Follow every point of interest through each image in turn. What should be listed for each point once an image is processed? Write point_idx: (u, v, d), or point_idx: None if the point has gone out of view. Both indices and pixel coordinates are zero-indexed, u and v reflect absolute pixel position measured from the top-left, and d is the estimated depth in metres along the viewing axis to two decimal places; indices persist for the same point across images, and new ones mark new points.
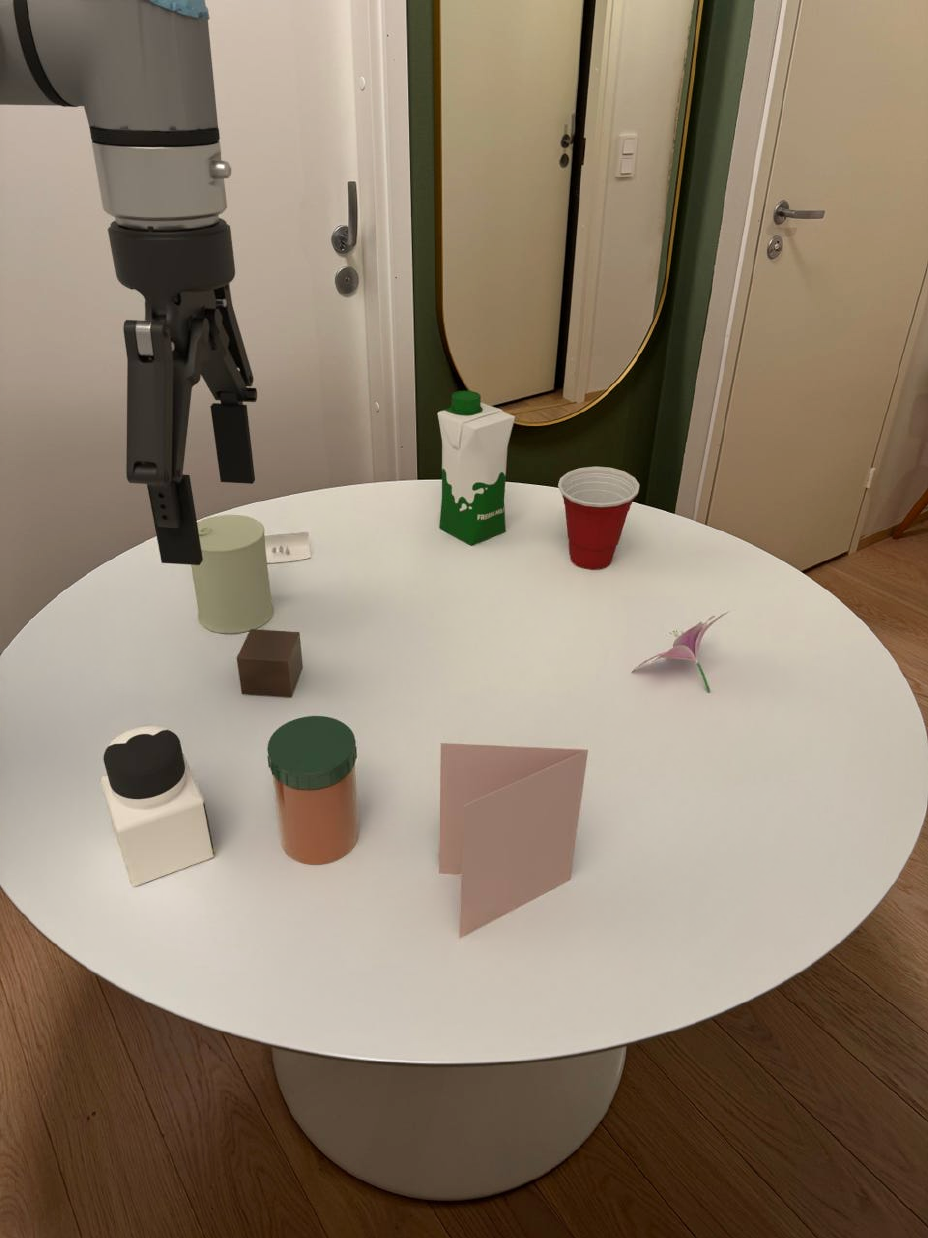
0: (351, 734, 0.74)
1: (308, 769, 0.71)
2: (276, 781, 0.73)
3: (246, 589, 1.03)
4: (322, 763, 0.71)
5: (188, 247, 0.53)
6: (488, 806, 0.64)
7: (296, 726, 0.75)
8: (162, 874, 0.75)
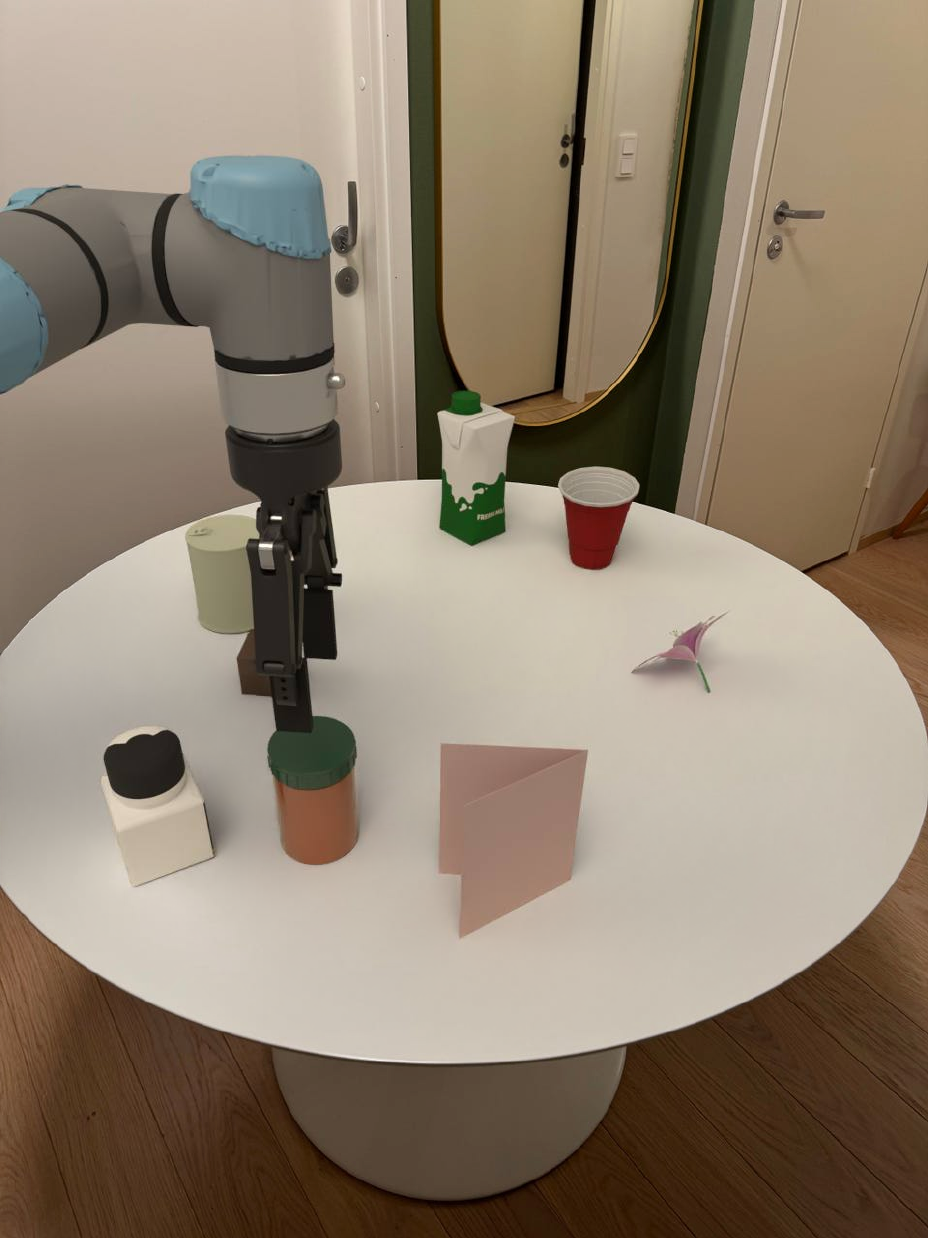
0: (351, 734, 0.74)
1: (308, 769, 0.71)
2: (276, 781, 0.73)
3: (246, 589, 1.03)
4: (322, 763, 0.71)
5: (305, 456, 0.56)
6: (488, 807, 0.64)
7: None
8: (162, 874, 0.75)
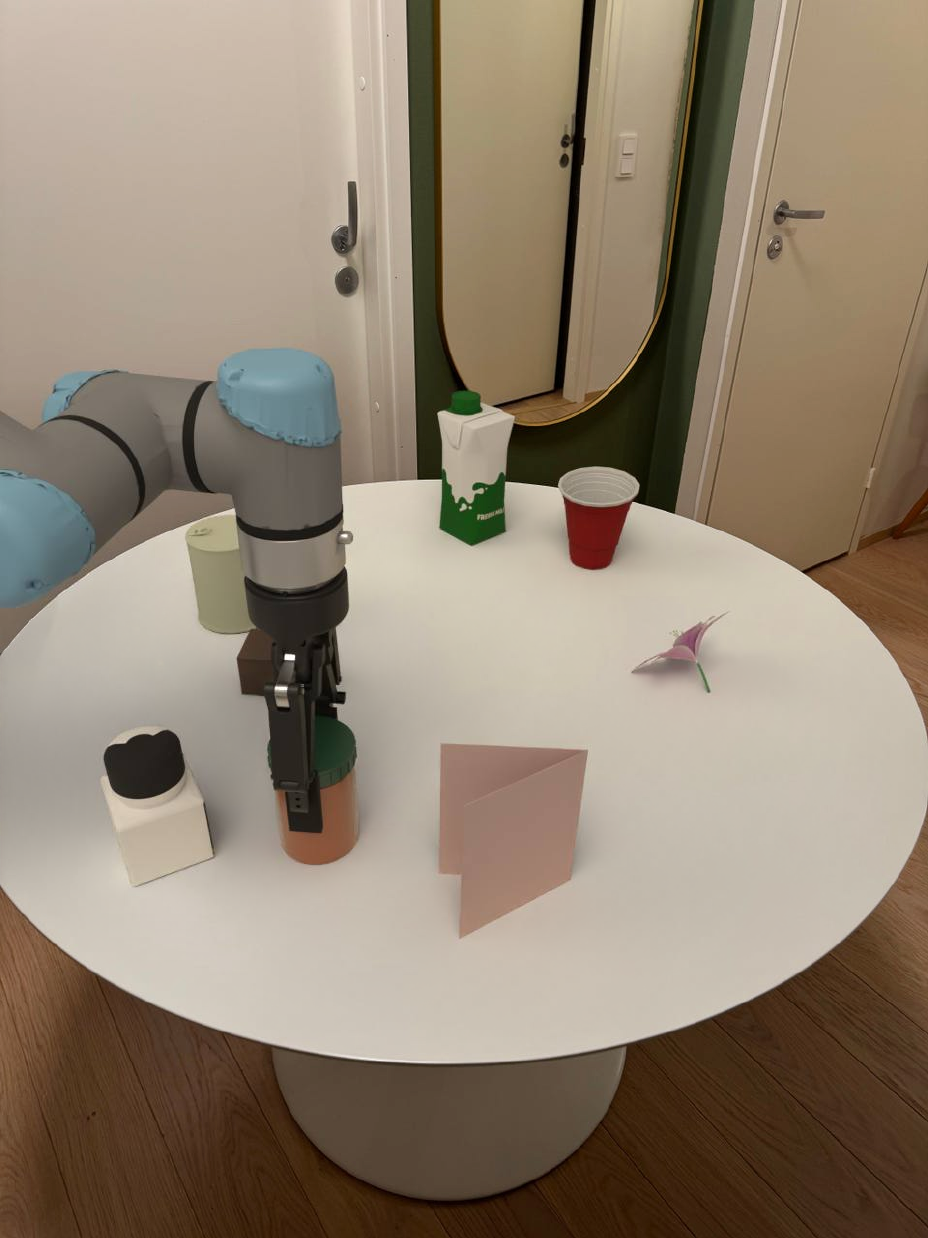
0: (351, 734, 0.74)
1: None
2: None
3: None
4: (322, 763, 0.71)
5: (316, 606, 0.62)
6: (488, 807, 0.64)
7: None
8: (162, 874, 0.75)
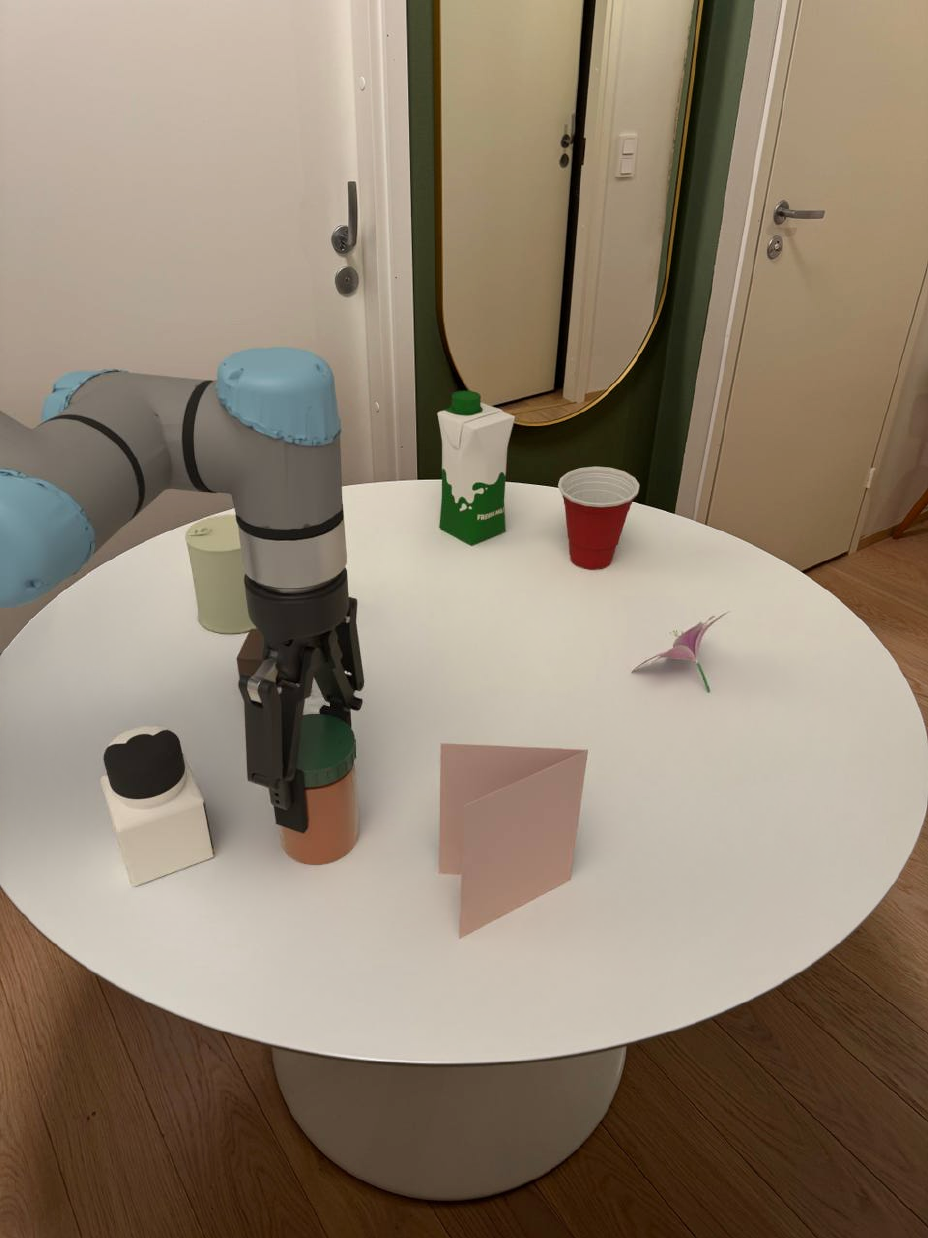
0: None
1: (326, 718, 0.76)
2: None
3: None
4: (311, 720, 0.75)
5: None
6: (488, 807, 0.64)
7: (316, 762, 0.71)
8: (162, 874, 0.75)
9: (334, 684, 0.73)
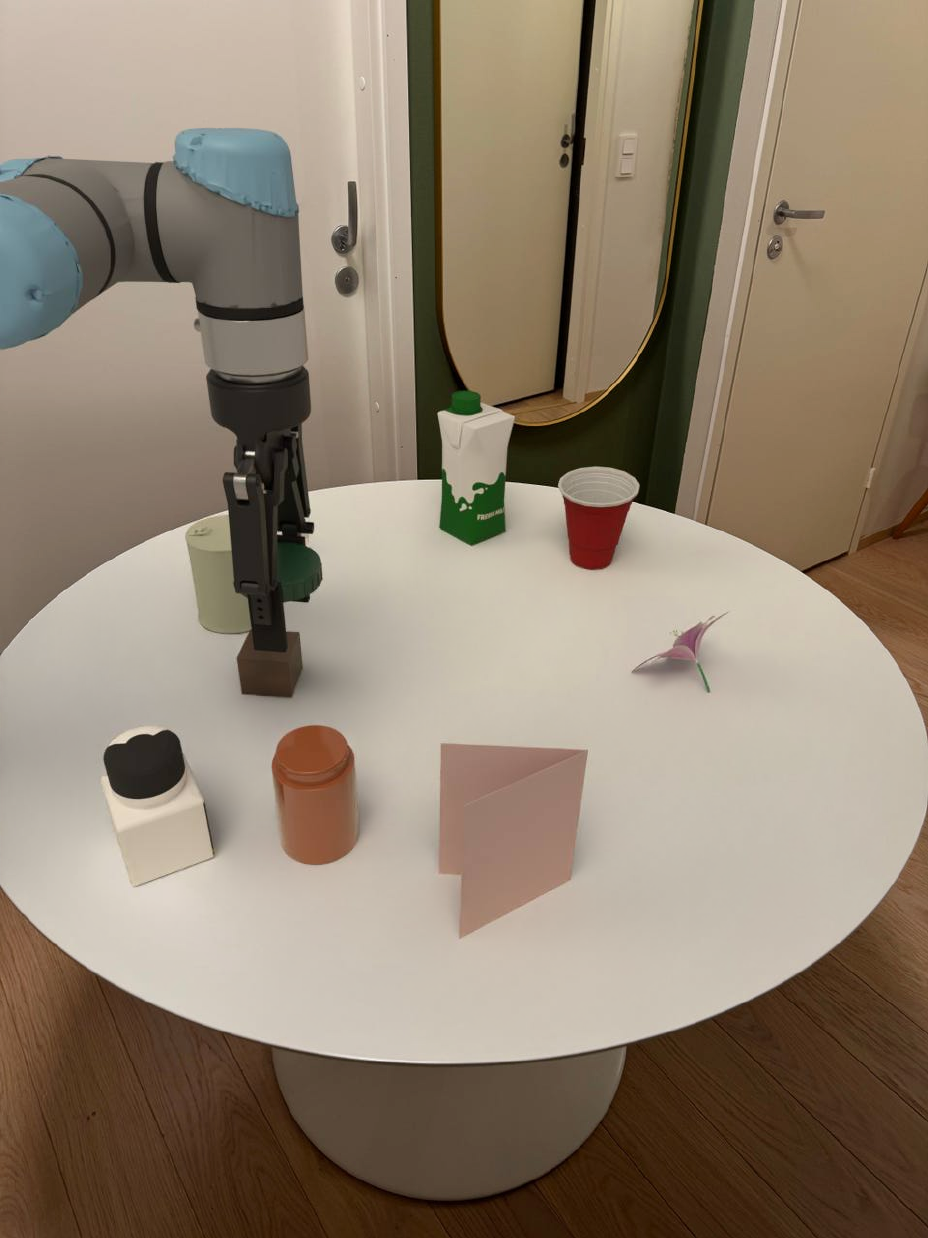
0: None
1: (282, 544, 0.77)
2: (276, 781, 0.73)
3: None
4: None
5: None
6: (488, 807, 0.64)
7: (291, 575, 0.72)
8: (162, 874, 0.75)
9: (291, 503, 0.74)
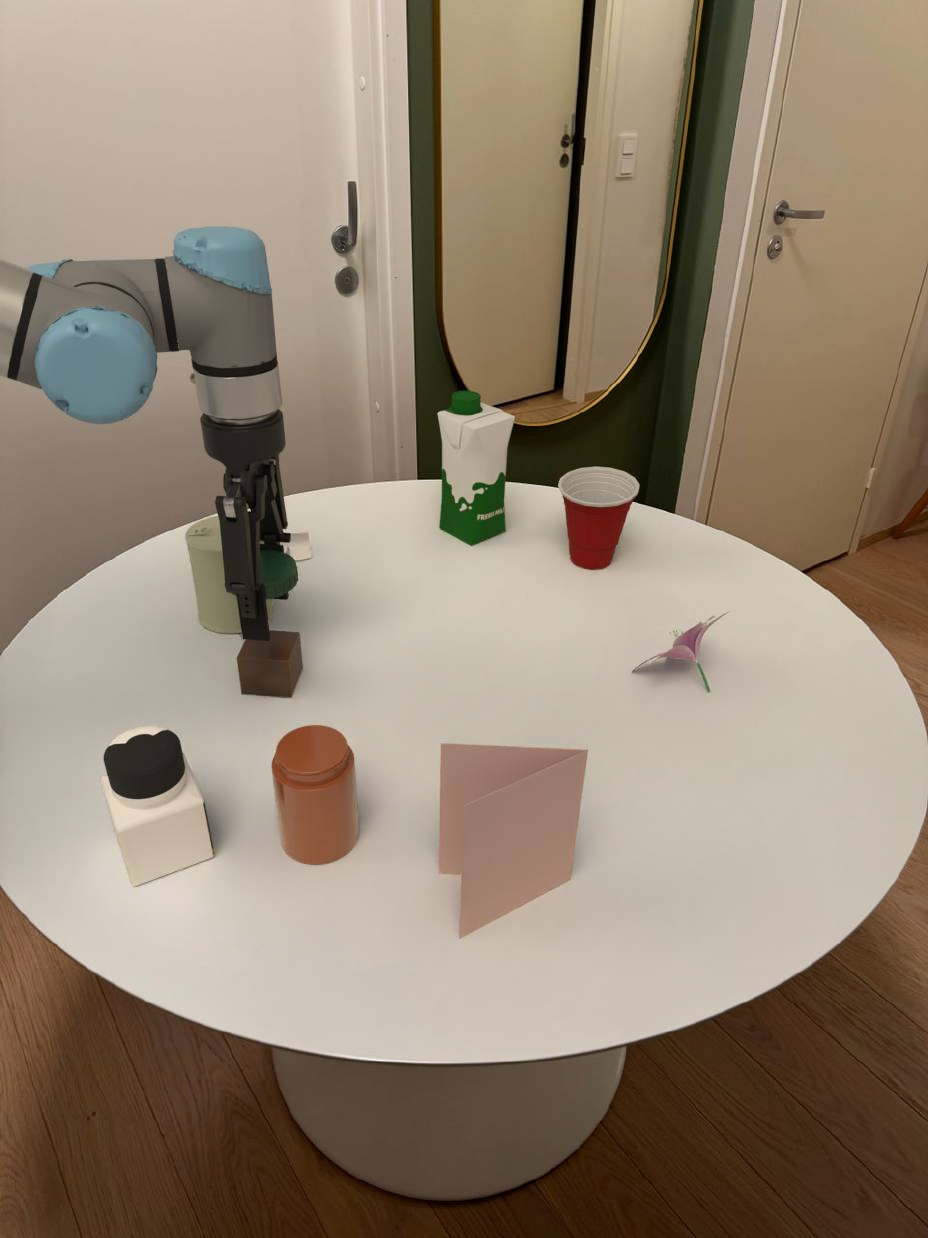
0: None
1: (264, 551, 0.93)
2: (276, 781, 0.73)
3: None
4: None
5: None
6: (488, 807, 0.64)
7: (272, 577, 0.88)
8: (162, 874, 0.75)
9: (271, 517, 0.90)
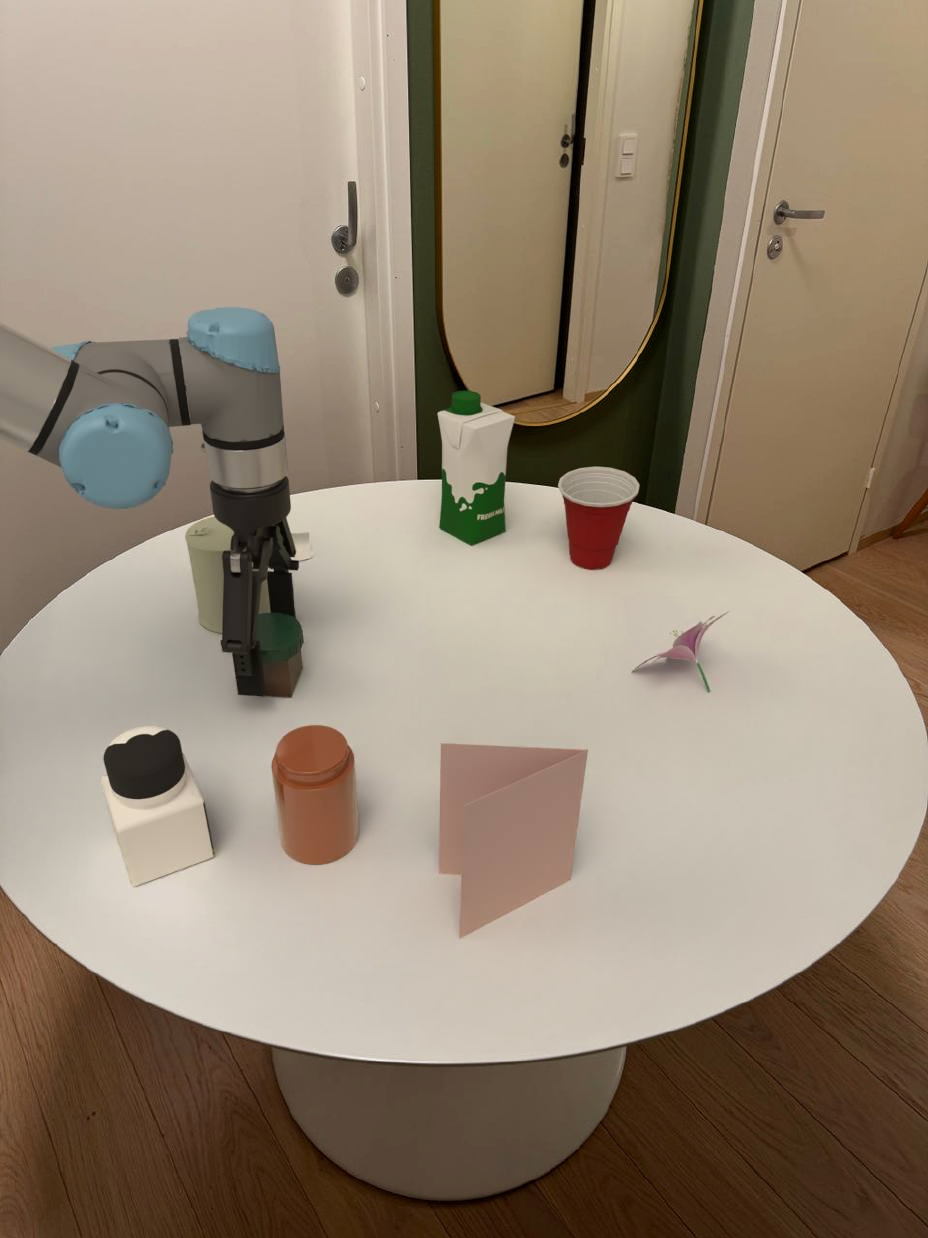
0: None
1: (271, 614, 0.97)
2: (276, 781, 0.73)
3: None
4: (260, 618, 0.96)
5: None
6: (488, 807, 0.64)
7: (279, 642, 0.93)
8: (162, 874, 0.75)
9: (279, 558, 0.95)
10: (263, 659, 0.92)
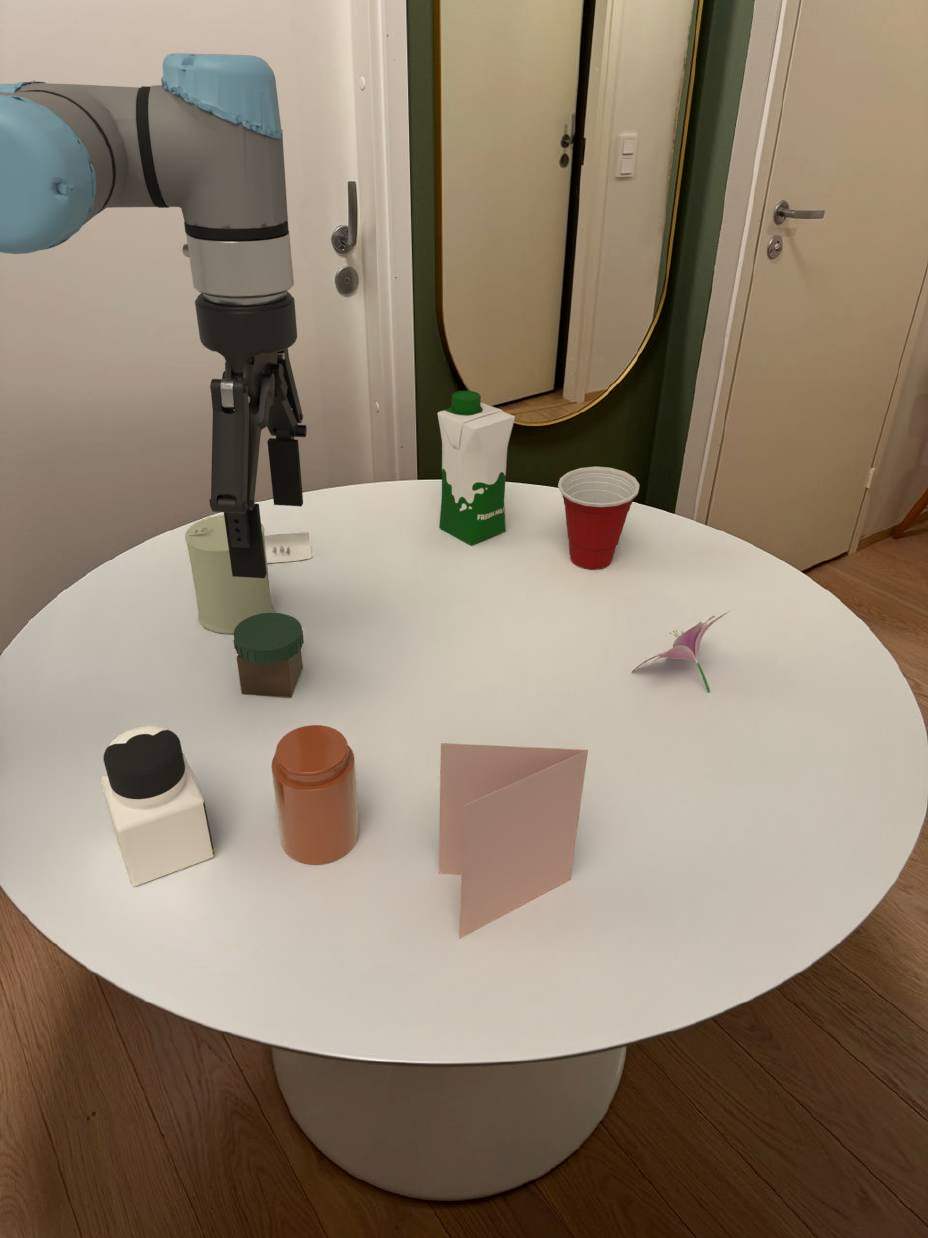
0: (235, 636, 0.93)
1: (271, 614, 0.97)
2: (276, 781, 0.73)
3: (246, 589, 1.03)
4: (260, 618, 0.96)
5: None
6: (488, 807, 0.64)
7: (279, 642, 0.93)
8: (162, 874, 0.75)
9: (282, 416, 0.78)
10: (263, 659, 0.92)
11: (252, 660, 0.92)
